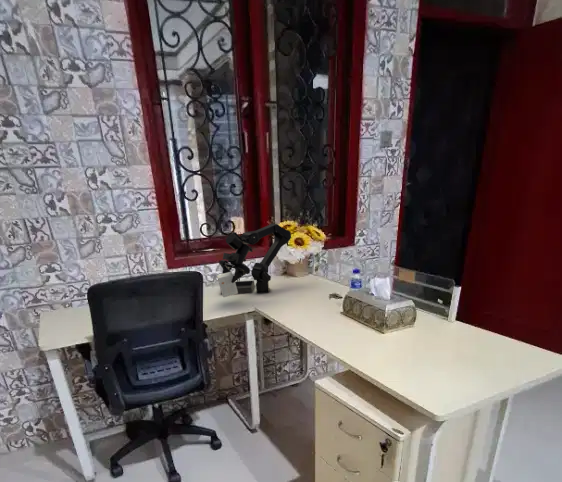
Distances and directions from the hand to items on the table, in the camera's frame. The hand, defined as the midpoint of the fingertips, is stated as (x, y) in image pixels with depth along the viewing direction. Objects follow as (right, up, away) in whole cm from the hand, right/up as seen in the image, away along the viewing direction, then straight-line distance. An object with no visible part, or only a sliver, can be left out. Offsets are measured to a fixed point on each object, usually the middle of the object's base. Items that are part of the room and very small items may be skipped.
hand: (227, 281), depth 211 cm
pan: (+3, +1, +26) cm, 26 cm away
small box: (+1, -6, +4) cm, 7 cm away
